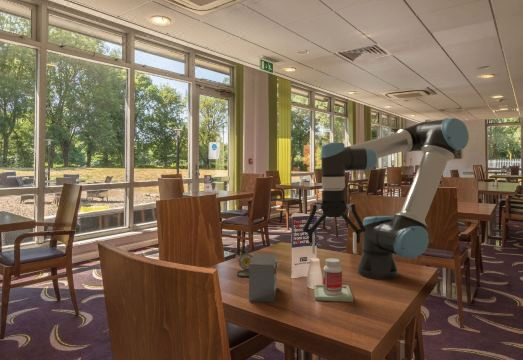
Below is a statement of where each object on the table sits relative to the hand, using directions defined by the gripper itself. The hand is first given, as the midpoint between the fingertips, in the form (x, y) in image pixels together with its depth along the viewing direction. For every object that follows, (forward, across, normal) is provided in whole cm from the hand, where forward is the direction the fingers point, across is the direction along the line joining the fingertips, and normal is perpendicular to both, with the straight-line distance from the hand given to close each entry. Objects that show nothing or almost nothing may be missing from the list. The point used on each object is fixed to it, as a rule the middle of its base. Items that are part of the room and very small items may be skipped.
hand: (334, 252), depth 124 cm
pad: (+14, +1, 0) cm, 14 cm away
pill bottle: (+14, +1, 0) cm, 14 cm away
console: (+13, +24, +2) cm, 27 cm away
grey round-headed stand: (+14, +33, -20) cm, 41 cm away
